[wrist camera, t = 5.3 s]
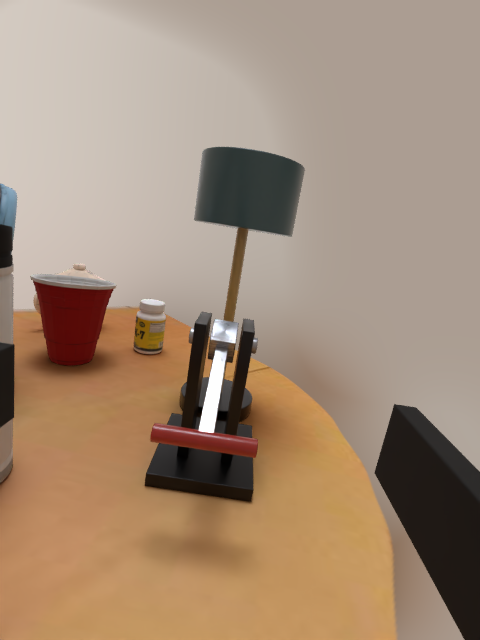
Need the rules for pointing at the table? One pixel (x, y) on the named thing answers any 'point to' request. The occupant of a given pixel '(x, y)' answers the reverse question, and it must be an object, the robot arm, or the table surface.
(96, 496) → the table surface
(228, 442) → the switch lever
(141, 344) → the supplement bottle
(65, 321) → the plastic cup
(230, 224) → the desk lamp
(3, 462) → the travel mug
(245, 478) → the switch base
